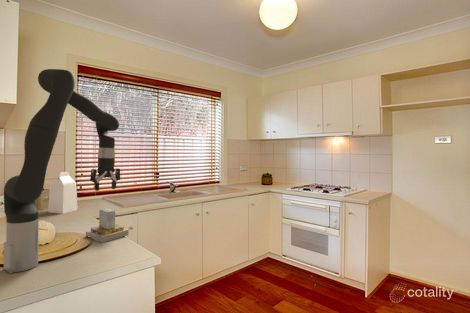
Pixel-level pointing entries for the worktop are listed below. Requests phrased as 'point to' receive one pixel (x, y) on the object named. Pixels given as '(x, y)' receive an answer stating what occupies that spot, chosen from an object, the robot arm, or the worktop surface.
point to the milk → (62, 194)
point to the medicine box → (107, 218)
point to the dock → (107, 237)
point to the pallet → (107, 230)
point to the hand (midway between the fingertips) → (105, 189)
